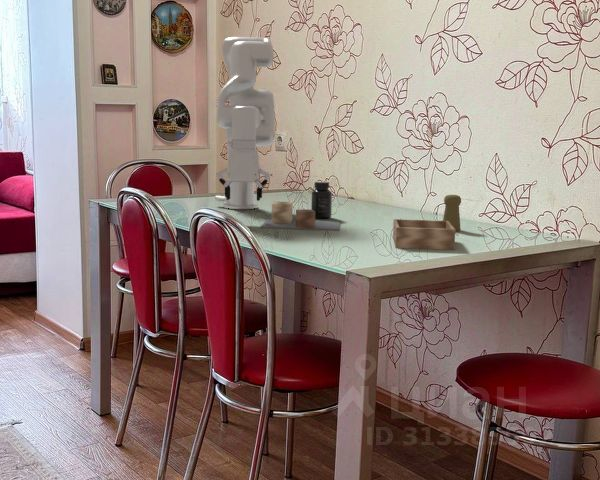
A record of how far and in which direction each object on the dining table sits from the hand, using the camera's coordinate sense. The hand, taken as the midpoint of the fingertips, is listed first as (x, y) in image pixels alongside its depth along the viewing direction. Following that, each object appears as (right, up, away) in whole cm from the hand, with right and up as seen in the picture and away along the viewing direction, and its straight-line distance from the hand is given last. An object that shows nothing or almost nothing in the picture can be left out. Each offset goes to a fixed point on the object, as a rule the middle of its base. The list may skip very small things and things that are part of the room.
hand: (243, 199), depth 247 cm
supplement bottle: (+25, -6, +13) cm, 29 cm away
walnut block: (+20, -9, -8) cm, 23 cm away
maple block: (+12, -7, +1) cm, 14 cm away
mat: (+18, -8, -3) cm, 20 cm away
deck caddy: (+52, -14, -31) cm, 62 cm away
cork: (+65, -10, -6) cm, 66 cm away
